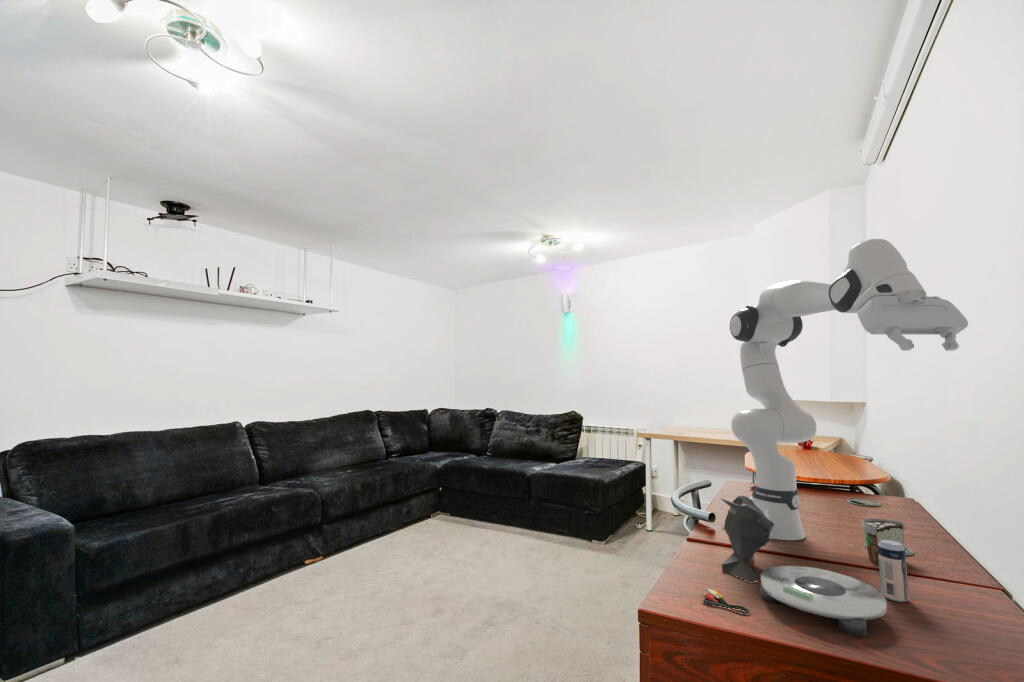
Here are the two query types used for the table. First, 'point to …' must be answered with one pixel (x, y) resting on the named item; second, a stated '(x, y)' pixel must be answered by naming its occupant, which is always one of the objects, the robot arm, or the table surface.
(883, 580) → the beer can
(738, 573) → the dark grey angular piece
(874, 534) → the food container
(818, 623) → the table surface
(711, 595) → the composite cable
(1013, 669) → the table surface
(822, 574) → the round grey plate
